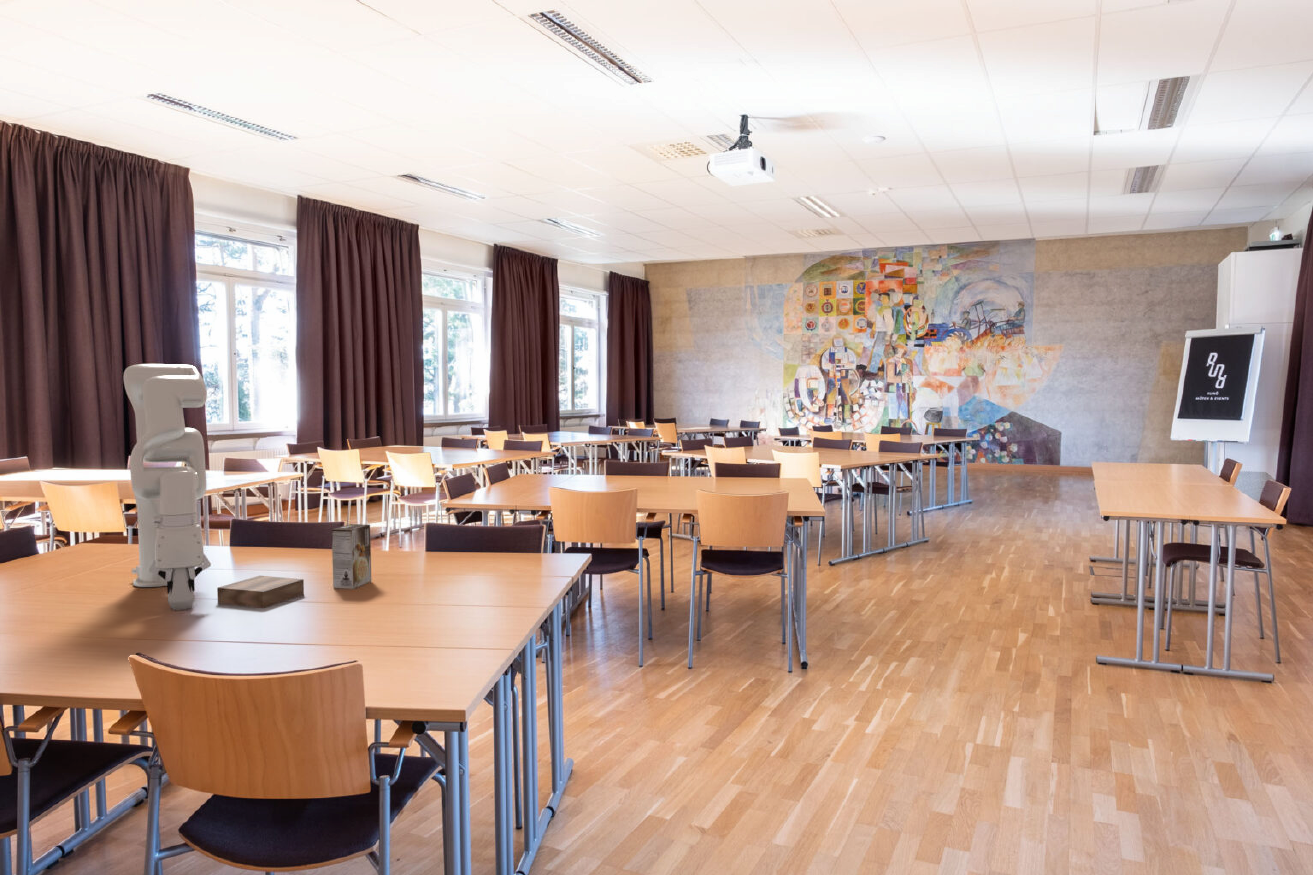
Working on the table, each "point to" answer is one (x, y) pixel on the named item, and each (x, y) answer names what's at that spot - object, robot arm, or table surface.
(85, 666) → the table surface
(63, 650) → the table surface
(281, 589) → the walnut base
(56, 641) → the table surface
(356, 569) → the coffee box
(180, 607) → the salt shaker
